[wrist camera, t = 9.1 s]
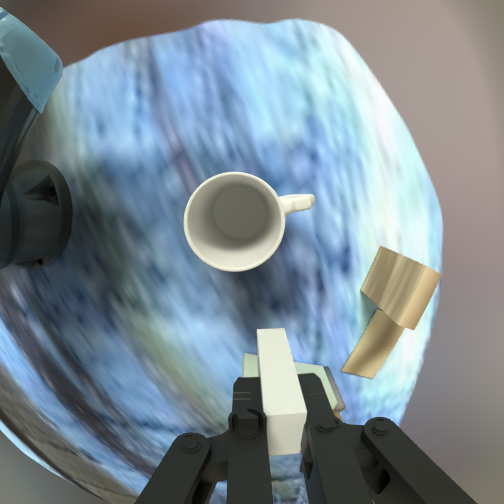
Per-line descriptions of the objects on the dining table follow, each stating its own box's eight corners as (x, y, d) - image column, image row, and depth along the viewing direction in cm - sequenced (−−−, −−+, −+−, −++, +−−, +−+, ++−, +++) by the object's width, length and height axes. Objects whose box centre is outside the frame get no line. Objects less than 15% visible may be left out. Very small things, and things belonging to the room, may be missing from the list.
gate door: (330, 366, 34) (347, 404, 26) (327, 373, 34) (342, 411, 26) (244, 352, 33) (243, 392, 25) (242, 359, 33) (240, 400, 25)
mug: (217, 248, 31) (199, 281, 19) (202, 190, 29) (172, 187, 17) (305, 226, 30) (339, 246, 18) (291, 168, 29) (318, 151, 17)
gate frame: (294, 401, 35) (304, 452, 26) (380, 245, 31) (426, 266, 21) (346, 411, 36) (364, 455, 26) (430, 272, 32) (476, 296, 22)
